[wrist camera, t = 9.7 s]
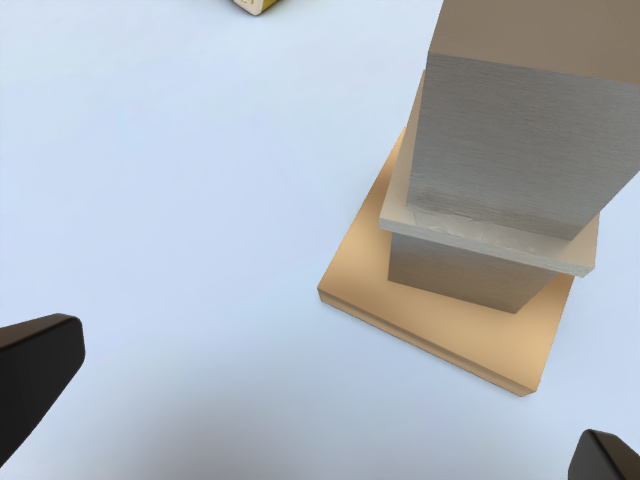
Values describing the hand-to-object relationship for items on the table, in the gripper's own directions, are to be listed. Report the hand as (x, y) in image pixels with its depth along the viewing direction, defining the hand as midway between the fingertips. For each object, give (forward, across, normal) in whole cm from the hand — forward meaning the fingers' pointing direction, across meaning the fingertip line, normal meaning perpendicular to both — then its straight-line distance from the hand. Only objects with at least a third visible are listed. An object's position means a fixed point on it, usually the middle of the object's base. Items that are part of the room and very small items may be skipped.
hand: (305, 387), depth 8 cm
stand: (+16, -4, +3) cm, 17 cm away
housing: (+14, -4, +2) cm, 15 cm away
